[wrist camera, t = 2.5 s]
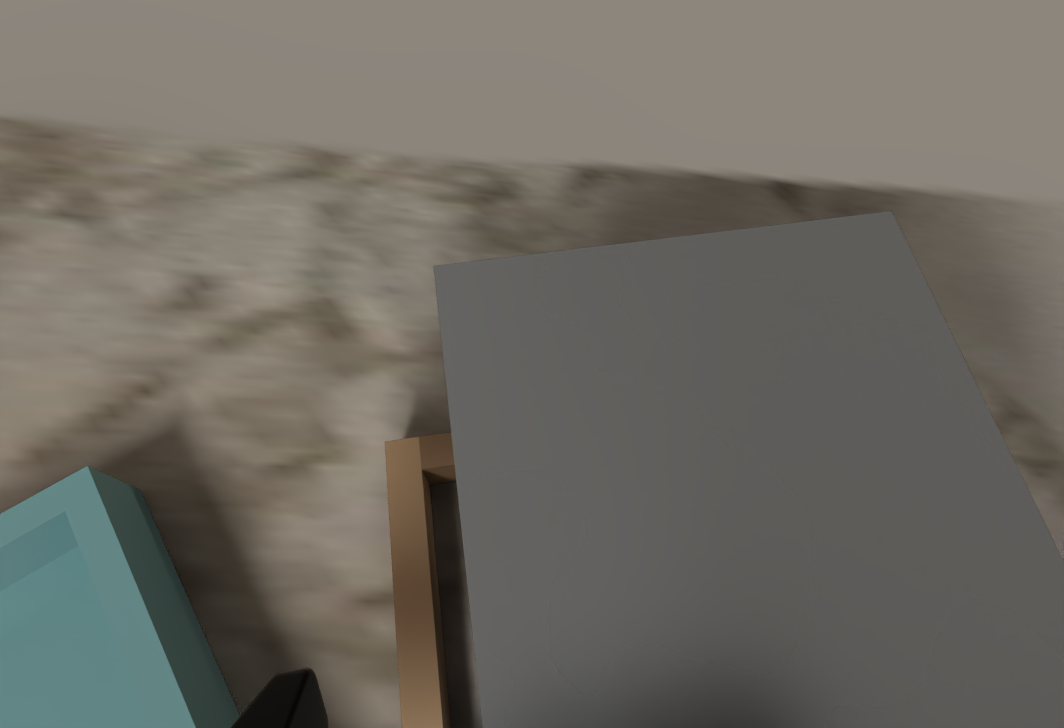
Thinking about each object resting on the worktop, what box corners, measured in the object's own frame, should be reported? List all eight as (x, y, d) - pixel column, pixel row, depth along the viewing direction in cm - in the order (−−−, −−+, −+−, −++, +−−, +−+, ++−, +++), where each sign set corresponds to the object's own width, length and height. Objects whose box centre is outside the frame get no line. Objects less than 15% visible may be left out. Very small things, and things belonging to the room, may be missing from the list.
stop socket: (818, 780, 15) (849, 793, 14) (421, 857, 14) (410, 877, 13) (710, 414, 19) (726, 393, 18) (395, 459, 18) (384, 441, 17)
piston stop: (718, 704, 16) (1285, 822, 4) (494, 746, 15) (405, 1008, 4) (664, 485, 18) (924, 157, 6) (468, 515, 18) (364, 220, 6)
